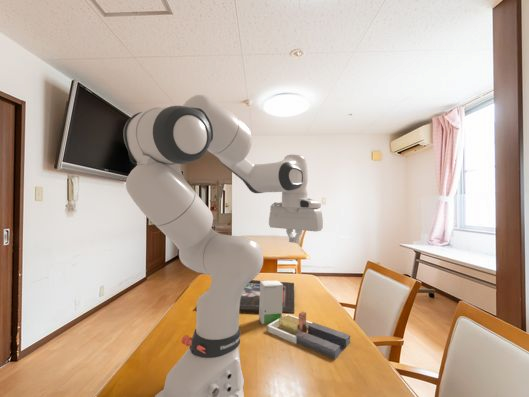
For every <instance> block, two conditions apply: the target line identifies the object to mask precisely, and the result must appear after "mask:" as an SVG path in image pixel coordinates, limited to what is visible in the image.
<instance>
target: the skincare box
mask: <svg viewBox="0 0 529 397" xmlns="http://www.w3.org/2000/svg"><path fill="white" fill-rule="evenodd" d="M259 281H260V302H259V313H258V321H259V322H260V323H261V325H265V324H266V325H267V324H270V323H272V322H274V321H276V320H277V319H279V318H281V317H283V313H282V301H283V284H282V283H280V282H281V281H279V280H259Z"/></svg>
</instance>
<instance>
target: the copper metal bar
mask: <svg viewBox="0 0 529 397" xmlns="http://www.w3.org/2000/svg"><path fill="white" fill-rule="evenodd" d="M298 318H299V329H298V333H299V332H300V331H303V332H305V333H308V327H307V326H306V321H307V312H305V311H301V312H299V313H298Z"/></svg>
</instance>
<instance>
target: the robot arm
mask: <svg viewBox="0 0 529 397" xmlns="http://www.w3.org/2000/svg"><path fill="white" fill-rule="evenodd" d="M122 133H123V136H122V137H123V142H124V144H125V147H126V149H127V152H128V158H129V160H130V161H129V162H130V163H131V164H133V165H134V166H135V167H133V169H132V170H131V171H130V173H129V174H128V175H127V177H126V181H125V188H126V191H127V194H128V195H129V196H130V197H131V199H132V201H133V202H134V203H135V205H136V206H137V207H138V208H139V210H140V211H141V213H143V214H144V216H145V217H146V218H147V219H149V221H151V223H152V224H153V225H154V226H155V227H157V229H159V230H160V231H161V233H163V234H164V235H165V236H166V237H167V238H168V239H169V240H170V241H171V242H172V243H173V244H174V245H175V246H176V248H177V249H178V257H179V260H180V263H181V264H183V266H185V267H186V268H188V269H189V270H192V271H194V272H195V273H200V274H203V275H207V276H210V279H211V281H210V285H209V289H208V290H206V291H205V292H204V293H202V294H200V296H199V297H198V299H197V302H196V307H197V308H196V316H195V317H196V318H195V319H196V322H195V324H196V325H195V329H194V332H193V333H192V334H193V335H192V337H190V336H189V335H187V334H186V335H184V336H182V338H181V344H183V345H185V346H186V347H189V348H188V349H187V350H186V351H185V353H184V354H183V355H182V356H181V357H180V358H179V360H178V361H177V362H176V364H175V365H174V366H173V367H171V369H170V371H168V373H167V375H166V378H165V382H164V385H163V389H162V390H160V391H159V392H158V393H157V394H155V395H154V397H245V395H244V384H245V380H244V375H243V371H242V366H241V365H242V364H241V357H240V356H241V355H240V347H239V346H240V344H241V336H242V335H241V326H240V324H239V323H240V312H239V308H240V300H241V296H242V293H243V290H244V288H245V287H246V285H247V284H248V283H249V282H250V281H251V280H255V278H257V277H258V275H259V274H260V272H261V270H262V268H263V265H264V253H263V250H262V247H261V245H260V244H259V243H258V242H256V241H254V240H251V239H249V238H246V237H243V236H240V235H239V236H237V235H231V234H230V235H229V234H224V233H219V232H218V231H216V230H214V229H213V222H214V215H213V212H212V211H211V209H210V208H209V206H207V205H206V203H205V202H204V201H203V199H202V198H201V197H200V196H199V195H198V194H197V192H196V191H195V190H194V189H193V187H192V186H191V185H190V184H189V183H188V182H187V181H186V180H185V177H184V174H183V172H182V169H181V165H185V164H190V163H193V162H196V161H198V160H199V159H201V158H202V157H203V156H204V155H205V154H206V152H207V151H208V152H209V153H210V154H212V155H213V156H215V157H216V158H217V159H218V161H219V163H220V164H222V165H223V166H224V167H225V168H226V169H227V170H229V171H230V172H231V173H232V174H234V175H235V176H236V177H238V178H239V179H240V180H241V181H243V182H242V183H244V184H245V186H246V187H247V189H248V190H249V191H250V192H252V193H253V194H264V193H281V202H275V201H274V203H272V204H271V205H270V210H269V211H270V212H269V218H268V225H269V227H270V228H273V229H274V228H275V229H283V230H285V229H286V231H285V232H286V234H287V237H288V242H289V243H294V244H299V241H300V237H301V235H302V233H303V231H304V232H305V231H307V232H321V231H322V229H323V228H324V227H323V226H324V221H323V220H324V217H323V212H322V210H321V209H320V208H321V207H322V204H321V201H318V200H315V199H312V198H310V197H308V190H307V186H308V185H307V184H308V180H309V179H308V177H309V176H308V166H307V165H308V164H307V160H306V158H304V157H303V156H302V155H298V154H288V155H286V156H285V157H284V159H282V160H280V161H277V162H270V163H269V162H268V163H252V162H251V161H250V160H249V159H247V157H248V155H249V153H250V151H251V148H252V144H253V136H252V131H251V129H250V128H249V127H248V126H247V124H246V123H245V122H244V121H243V120H242V119H241V118H239V117H238V116H237V115H236V114H235V113H234V112H232V111H231V110H230V109H228V108H227V107H225V106H224V105H222V103H220V102H218V101H216V100H215V99H213V98H211V97H209V96H208V95H204V94H196V95H195V94H194V95H193V96H191V97H190V98H188V99H187V100H186V101H185V103H184V104H183V105H171V106H168V107H167V106H166V107H153V108H149V109H146V110H144V111H141V112H137V113H134V114H133V115H132V116H131V117H129V119H127V121H126V122H125V125H124V127H123V132H122ZM292 232H294V233H295V236H294V235H293V233H292Z"/></svg>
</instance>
